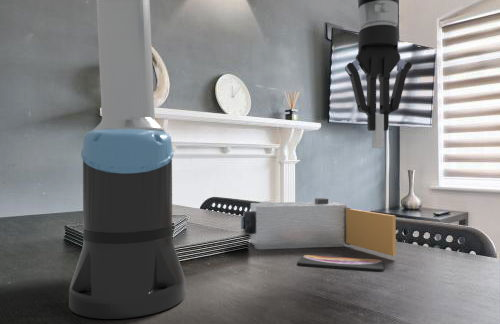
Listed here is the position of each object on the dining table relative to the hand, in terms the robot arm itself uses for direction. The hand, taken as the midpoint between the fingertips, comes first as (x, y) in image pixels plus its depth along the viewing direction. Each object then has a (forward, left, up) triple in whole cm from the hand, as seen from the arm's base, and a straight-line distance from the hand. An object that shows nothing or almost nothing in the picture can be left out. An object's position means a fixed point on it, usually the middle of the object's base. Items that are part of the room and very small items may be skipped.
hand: (377, 147), depth 80 cm
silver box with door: (-15, +12, -21) cm, 29 cm away
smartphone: (-10, -5, -22) cm, 25 cm away
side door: (-1, +2, -21) cm, 21 cm away
